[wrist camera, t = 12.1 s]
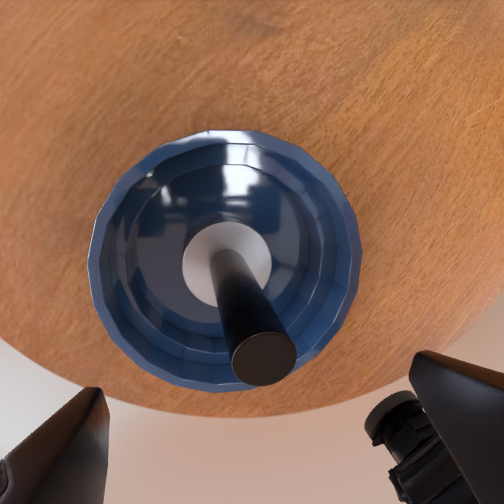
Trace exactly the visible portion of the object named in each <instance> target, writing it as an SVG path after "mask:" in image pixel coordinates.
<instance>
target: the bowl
mask: <svg viewBox="0 0 504 504" xmlns="http://www.w3.org/2000/svg"><path fill="white" fill-rule="evenodd" d="M218 216H231V217H236V218H239V219H241V220H243V221H245V222H247V223H248V224H250V225H251V226H252V227H253V228H254V229H255V230H256V231H257V232H258V233H259V234H260V235H261V236H262V237H263V238H264V240H265V242H266V243H267V245H268V247H269V250H270V253H271V259H272V267H271V273H270V277H269V279H268V282H267V283H266V285H265V287H264V288H263V292H264V294H265V295H266V297H267V299H268V300H269V302H270V304H271V305H272V307H273V309H274V310H275V312H276V314H277V315H278V317H279V319H280V321H281V322H282V324H283V326H284V327H285V329H286V331H287V332H288V334H289V336H290V337H291V339H292V341H293V342H294V344H295V346H296V349H297V360H296V363H295V366H294V368H293V369H292V371H291V372H290V373H289V374H288V375H290V374H291V373H293V372H294V371H296V370H297V369H299V368H300V367H301V366H303V365H304V364H306V363H307V362H309V361H310V360H311V359H313V358H314V357H316V356H317V355H318V354H319V353H320V352H321V351H322V350H323V348H324V347H325V346H326V345H327V344H328V342H329V341H330V340H331V339H332V338H333V336H334V335H335V334H336V333H337V332H338V330H339V329H340V328H341V327H342V325H343V323H344V320H345V318H346V316H347V314H348V312H349V309H350V307H351V305H352V303H353V300H354V298H355V296H356V294H357V290H358V283H359V276H360V268H361V260H362V247H361V241H360V236H359V230H358V225H357V220H356V215H355V212H354V211H353V209H352V207H351V205H350V203H349V201H348V200H347V198H346V196H345V194H344V193H343V191H342V189H341V187H340V186H339V184H338V182H337V180H336V179H335V177H334V176H333V175H332V174H331V173H330V172H329V171H328V170H326V169H325V168H324V167H323V166H322V165H321V164H320V163H318V162H317V161H316V160H315V159H314V158H313V157H311V156H310V155H309V154H308V153H307V152H306V151H304V150H303V149H302V148H300V147H298V146H296V145H293V144H291V143H288V142H286V141H283V140H281V139H278V138H276V137H273V136H270V135H268V134H265V133H262V132H260V131H255V130H219V129H209V130H204V131H201V132H198V133H195V134H192V135H189V136H186V137H183V138H180V139H177V140H174V141H171V142H168V143H165V144H162V145H161V146H158V147H157V148H156V149H154V150H153V151H152V152H151V153H149V154H148V155H147V156H145V157H144V158H143V159H142V160H140V161H139V162H138V163H137V164H135V165H134V166H133V167H132V168H130V169H129V170H128V171H127V172H125V173H124V174H123V175H122V176H121V177H120V178H119V180H118V182H117V183H116V185H115V186H114V188H113V189H112V191H111V193H110V194H109V196H108V198H107V199H106V201H105V202H104V204H103V206H102V207H101V209H100V211H99V213H98V214H97V216H96V219H95V223H94V228H93V233H92V238H91V243H90V248H89V253H88V258H87V261H88V262H87V268H88V275H89V282H90V289H91V295H92V301H93V305H94V307H95V309H96V311H97V313H98V315H99V317H100V319H101V321H102V323H103V325H104V327H105V329H106V331H107V332H108V334H109V336H110V338H111V340H112V341H113V342H114V343H115V344H116V345H117V346H118V347H119V348H120V349H121V350H122V351H123V352H124V353H125V354H126V355H127V356H128V357H129V358H130V359H131V360H133V361H134V362H135V363H136V364H137V365H138V366H139V367H140V368H142V369H143V370H145V371H147V372H149V373H151V374H153V375H155V376H157V377H159V378H160V379H162V380H165V381H167V382H169V383H171V384H173V385H176V386H179V387H184V388H189V389H194V390H199V391H205V392H211V393H221V392H233V391H244V390H251V389H254V388H257V387H260V386H251V385H248V384H245V383H244V382H242V381H241V380H239V379H238V378H237V377H236V376H235V374H234V372H233V370H232V366H231V362H230V358H229V354H228V350H227V345H226V341H225V337H224V333H223V328H222V324H221V320H220V315H219V311H218V307H214V306H211V305H208V304H206V303H204V302H202V301H200V300H199V299H198V298H196V297H195V296H194V295H193V294H192V292H191V291H190V290H189V288H188V287H187V285H186V283H185V280H184V277H183V273H182V254H183V248H184V244H185V242H186V239H187V237H188V236H189V234H190V233H191V232H192V230H193V229H194V228H195V227H196V226H198V225H199V224H200V223H202V222H203V221H205V220H207V219H210V218H213V217H218ZM288 375H287V376H288Z"/></svg>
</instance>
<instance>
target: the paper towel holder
mask: <svg viewBox="0 0 504 504" xmlns="http://www.w3.org/2000/svg"><path fill="white" fill-rule="evenodd" d="M271 267H272V259H271V253H270V250H269V247H268V245H267V243H266V242H265V240H264V238H263V237H262V236H261V235H260V234H259V233H258V232H257V231H256V230H255V229H254V228H253V227H252V226H251V225H250V224H248V223H247V222H245V221H243V220H241V219H239V218H236V217H231V216H218V217H213V218H210V219H207V220H205V221H203V222H202V223H200V224H199V225H198V226H196V227H195V228H194V229H193V230H192V232H191V233H190V234H189V236H188V237H187V239H186V242H185V244H184V248H183V254H182V273H183V277H184V280H185V283H186V285H187V287H188V288H189V290H190V291H191V292H192V294H193V295H194V296H195V297H196V298H198V299H199V300H200V301H202V302H204V303H206V304H208V305H211V306H214V307H218V311H219V315H220V320H221V324H222V328H223V333H224V337H225V341H226V345H227V350H228V354H229V358H230V362H231V366H232V370H233V372H234V374H235V376H236V377H237V378H238V379H239V380H241V381H242V382H244V383H245V384H248V385H251V386H268V385H272V384H274V383H277V382H279V381H281V380H282V379H284V378H285V377H286V376H287V375H288V374H289V373H290V372H291V371H292V369H293V368H294V366H295V363H296V360H297V349H296V346H295V344H294V342H293V341H292V339H291V337H290V336H289V334H288V332H287V331H286V329H285V327H284V326H283V324H282V322H281V321H280V319H279V317H278V315H277V314H276V312H275V310H274V309H273V307H272V305H271V304H270V302H269V300H268V299H267V297H266V295H265V294H264V292H263V288H264V287H265V285H266V283H267V282H268V279H269V277H270V273H271Z"/></svg>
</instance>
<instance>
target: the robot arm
mask: <svg viewBox="0 0 504 504" xmlns="http://www.w3.org/2000/svg"><path fill="white" fill-rule="evenodd" d="M409 381H410V383H411V385H412V387H413V388H414V391H415V393H416V395H417V397H418V399H419V401H416V402H413V403H410V404H407V405H404V406H401V407H398V408H395V409H392V410H389V411H386V412H385V413H384V414H383V416H382V419H381V422H380V424H379V427H378V429H377V432H376V435H375V437H374V439H373V442H372V445H373V447H375V446H379V445H381V444H384V445H385V447H386V448H387V449H388V451H389V452H390V454H391V455H392V457H393V458H394V460H395V461H396V462H397V464H398V465H397V466H395V467H394V468H393V469H390V470H389V471H388V472H389V474H390V476H389V479H390V480H391V482H392V484H393V485H394V487H395V490H396V493H397V496H398V499H399V501H400V502H406V503H407V504H504V373H501V372H497V371H494V370H491V369H487V368H484V367H480V366H477V365H474V364H470V363H467V362H464V361H461V360H458V359H454V358H451V357H448V356H445V355H442V354H439V353H436V352H432V351H429V350H424V351H420V352H417V353H416V354H415V356H414V358H413V362H412V365H411V368H410V371H409ZM422 408H423V409H424V411H425V412H424V411H423V410H422ZM109 423H110V414H109V409H108V407H107V403H106V400H105V397H104V394H103V391H102V389H101V388H99V387H85V388H84V389H83V390H82V391H80V392H79V393H78V394H77V395H76V396H75V397H73V398H72V399H71V400H70V401H69V402H68V403H66V404H65V405H64V406H63V407H62V408H61V409H59V410H58V411H57V412H56V413H55V414H53V415H52V416H51V417H50V418H49V419H48V420H46V421H45V422H44V423H43V424H42V425H41V426H39V427H38V428H37V429H36V430H35V431H34V432H33V433H31V434H30V435H29V436H28V437H27V438H26V439H24V440H23V441H22V442H21V443H20V444H19V445H18V446H16V447H15V448H14V449H13V450H12V451H11V452H9V453H8V454H7V455H6V456H5V457H4V459H1V460H0V504H103V501H104V492H105V483H106V477H107V468H108V444H109V443H108V442H109Z"/></svg>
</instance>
